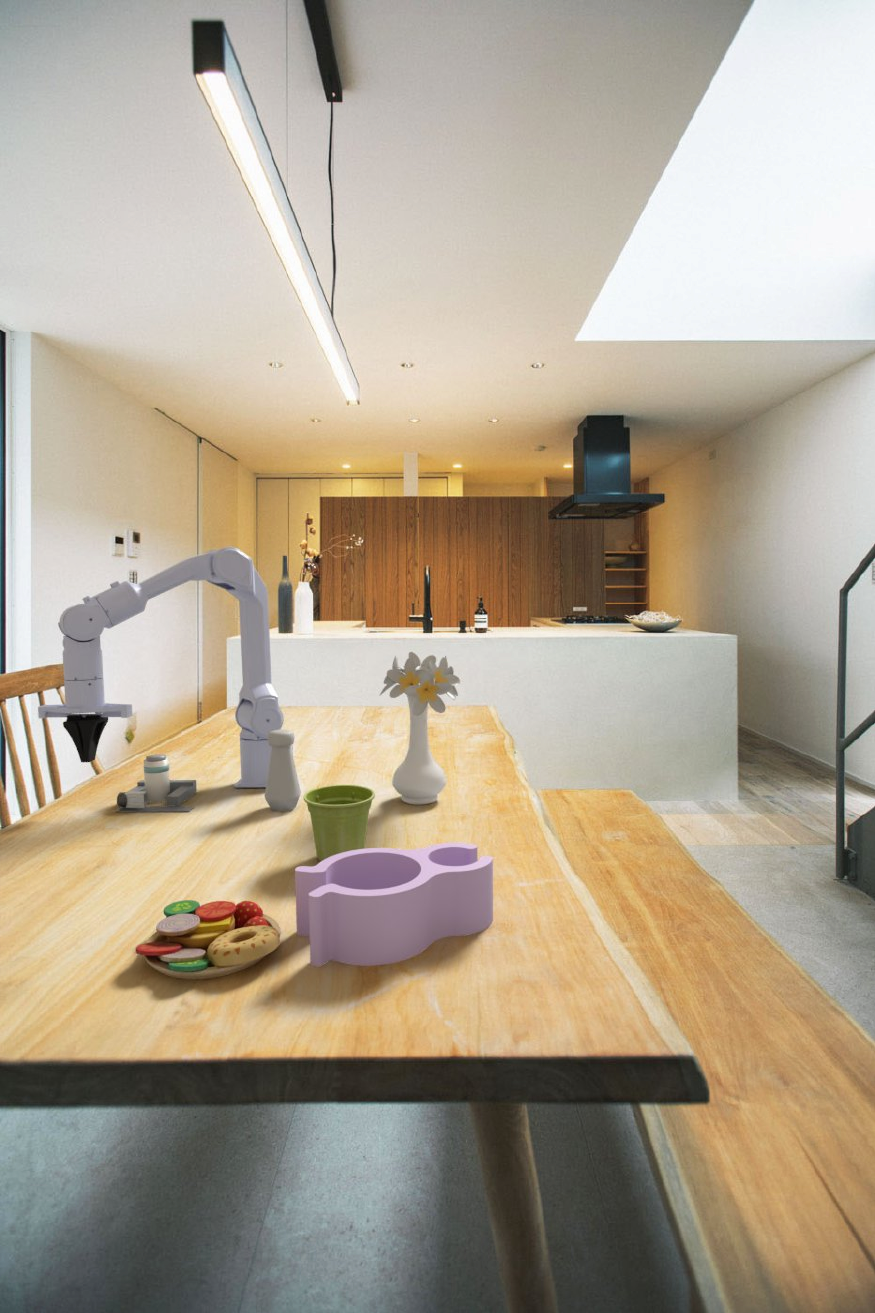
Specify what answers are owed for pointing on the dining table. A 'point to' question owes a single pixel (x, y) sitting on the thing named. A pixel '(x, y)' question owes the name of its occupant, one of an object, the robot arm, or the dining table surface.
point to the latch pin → (132, 799)
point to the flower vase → (420, 724)
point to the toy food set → (210, 939)
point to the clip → (392, 901)
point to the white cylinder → (156, 777)
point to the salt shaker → (282, 773)
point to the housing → (168, 797)
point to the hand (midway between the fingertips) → (88, 761)
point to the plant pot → (339, 817)
